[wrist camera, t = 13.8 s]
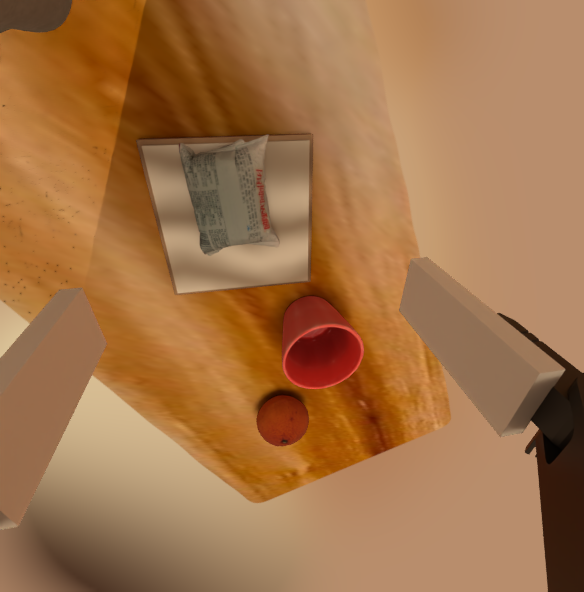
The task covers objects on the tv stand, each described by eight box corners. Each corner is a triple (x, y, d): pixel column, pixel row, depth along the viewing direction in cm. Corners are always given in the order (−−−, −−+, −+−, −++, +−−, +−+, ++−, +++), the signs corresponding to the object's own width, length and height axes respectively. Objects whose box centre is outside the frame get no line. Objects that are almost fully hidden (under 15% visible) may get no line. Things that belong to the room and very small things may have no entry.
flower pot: (258, 323, 46) (264, 369, 38) (308, 272, 43) (326, 310, 35) (306, 353, 51) (321, 400, 43) (355, 310, 48) (380, 351, 40)
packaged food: (266, 132, 31) (271, 137, 27) (277, 241, 38) (283, 258, 34) (179, 141, 30) (171, 146, 26) (205, 250, 37) (202, 269, 33)
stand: (139, 138, 32) (134, 140, 30) (310, 133, 34) (314, 134, 33) (176, 289, 41) (174, 297, 39) (308, 276, 44) (311, 283, 42)
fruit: (246, 411, 56) (248, 453, 49) (274, 380, 53) (280, 420, 46) (284, 424, 60) (291, 464, 53) (312, 396, 57) (324, 434, 50)
